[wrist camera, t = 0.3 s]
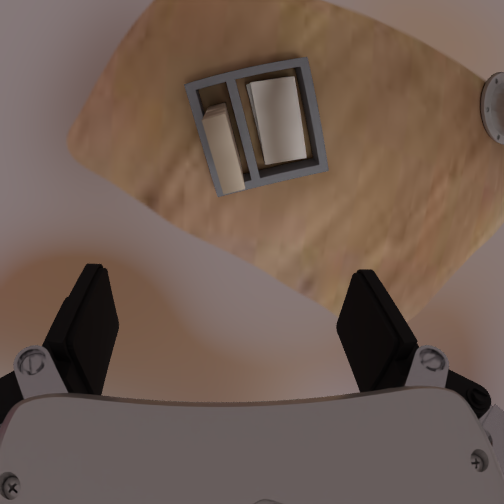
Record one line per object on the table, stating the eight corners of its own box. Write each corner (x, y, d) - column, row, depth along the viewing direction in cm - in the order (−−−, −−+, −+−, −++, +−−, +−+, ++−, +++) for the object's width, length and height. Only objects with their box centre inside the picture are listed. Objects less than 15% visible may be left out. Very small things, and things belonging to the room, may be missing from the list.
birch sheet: (225, 102, 34) (225, 113, 24) (239, 155, 38) (245, 189, 28) (208, 106, 34) (201, 119, 24) (223, 159, 38) (223, 194, 28)
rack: (301, 58, 32) (307, 56, 29) (321, 163, 39) (328, 170, 37) (187, 83, 33) (184, 84, 30) (218, 188, 40) (217, 197, 38)
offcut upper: (291, 76, 32) (294, 76, 31) (303, 154, 38) (306, 157, 36) (249, 82, 33) (250, 82, 31) (264, 161, 38) (265, 164, 37)
